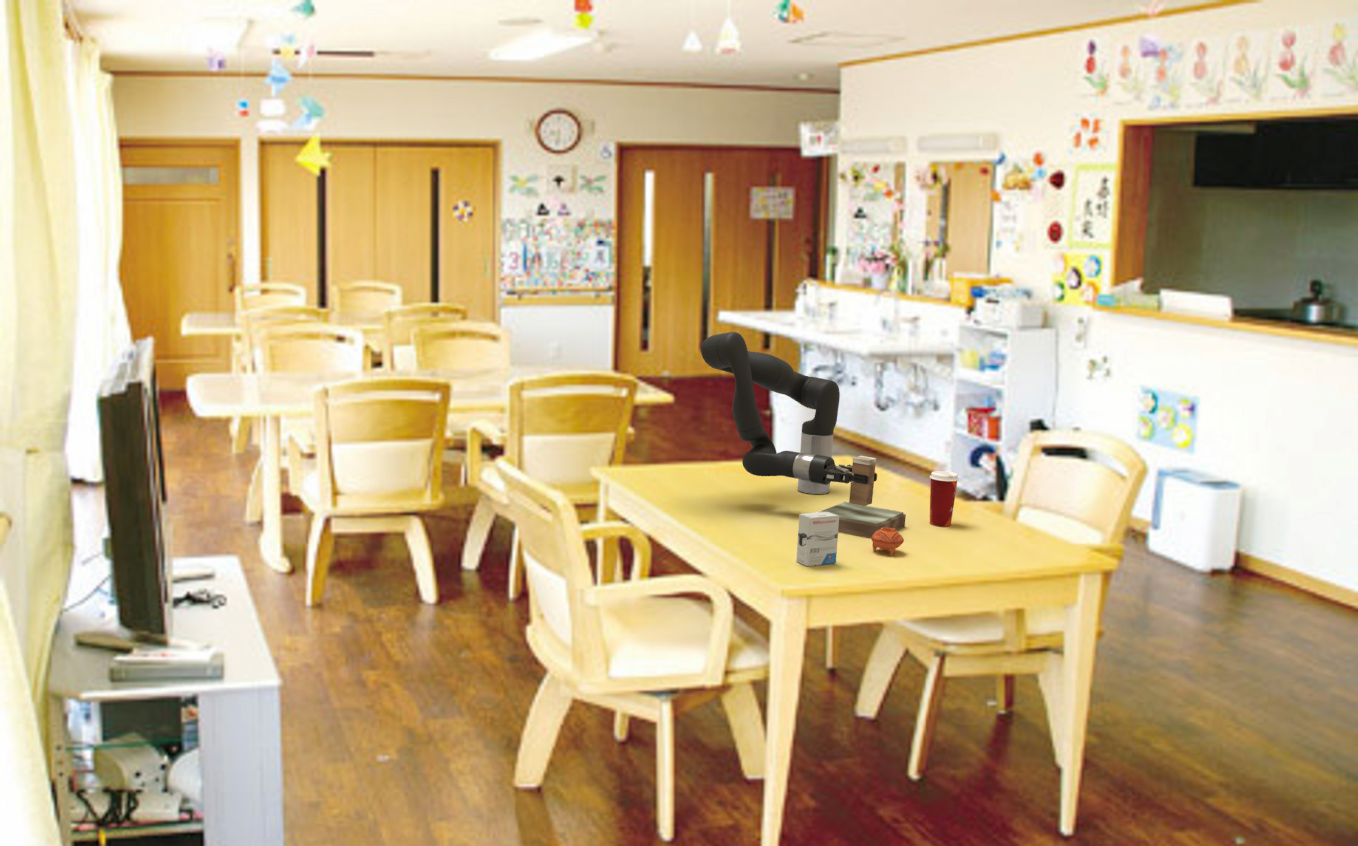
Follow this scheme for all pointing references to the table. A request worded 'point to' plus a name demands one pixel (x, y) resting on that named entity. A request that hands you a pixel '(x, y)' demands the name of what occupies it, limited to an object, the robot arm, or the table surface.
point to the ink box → (817, 538)
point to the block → (863, 492)
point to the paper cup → (942, 497)
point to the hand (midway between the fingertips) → (872, 478)
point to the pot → (887, 539)
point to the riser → (865, 519)
